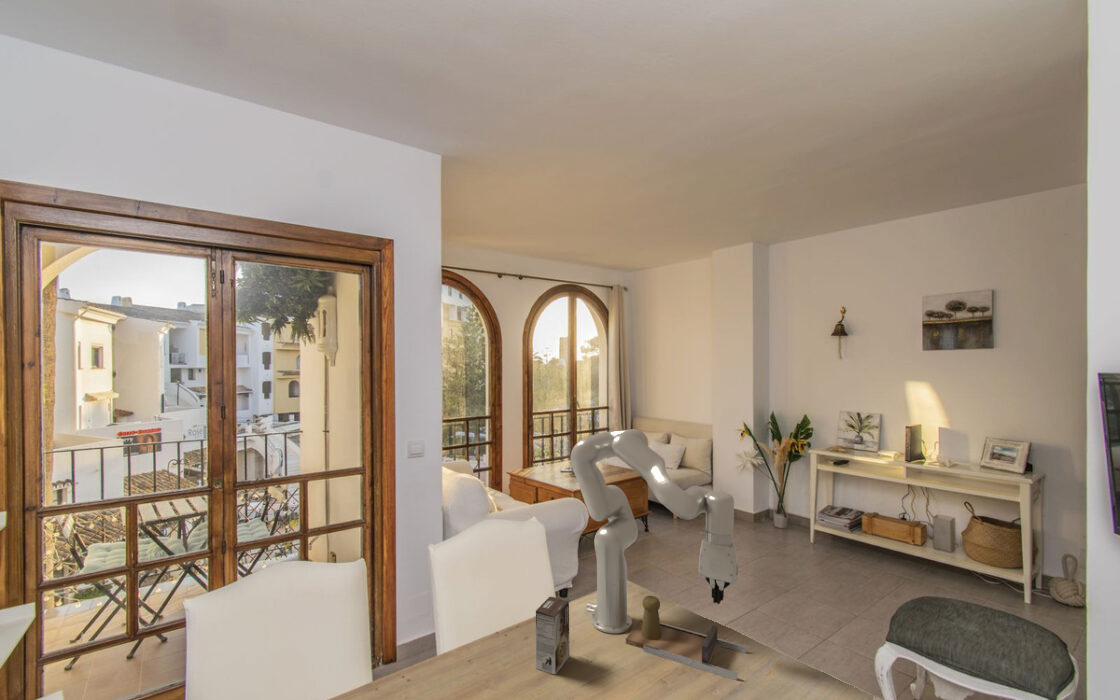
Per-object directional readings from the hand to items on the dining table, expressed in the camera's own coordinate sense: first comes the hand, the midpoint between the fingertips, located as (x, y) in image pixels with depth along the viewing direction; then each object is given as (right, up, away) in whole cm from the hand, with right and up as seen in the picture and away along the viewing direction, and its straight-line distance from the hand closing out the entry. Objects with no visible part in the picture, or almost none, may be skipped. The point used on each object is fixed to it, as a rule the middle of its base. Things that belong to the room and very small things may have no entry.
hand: (717, 601), depth 143 cm
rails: (-6, -16, +3) cm, 17 cm away
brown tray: (-12, -16, +7) cm, 21 cm away
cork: (-17, -15, +10) cm, 25 cm away
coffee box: (-47, -16, -2) cm, 49 cm away
